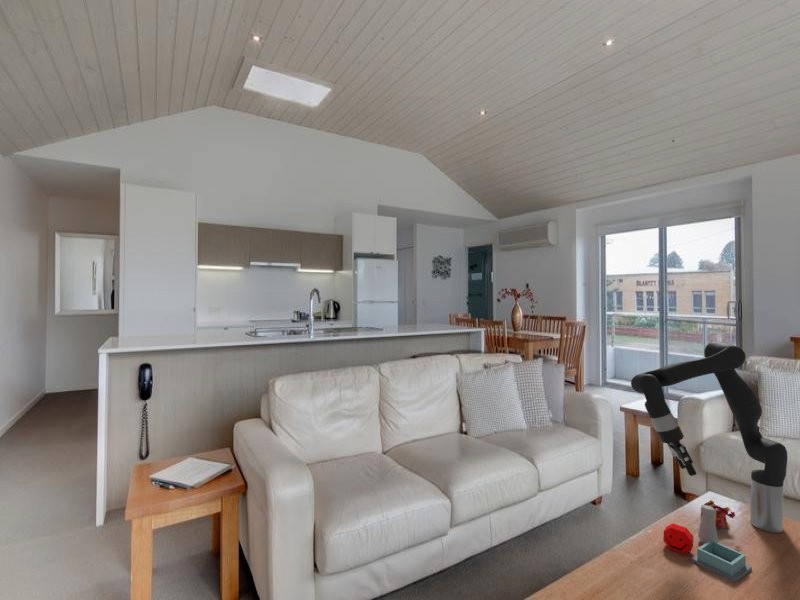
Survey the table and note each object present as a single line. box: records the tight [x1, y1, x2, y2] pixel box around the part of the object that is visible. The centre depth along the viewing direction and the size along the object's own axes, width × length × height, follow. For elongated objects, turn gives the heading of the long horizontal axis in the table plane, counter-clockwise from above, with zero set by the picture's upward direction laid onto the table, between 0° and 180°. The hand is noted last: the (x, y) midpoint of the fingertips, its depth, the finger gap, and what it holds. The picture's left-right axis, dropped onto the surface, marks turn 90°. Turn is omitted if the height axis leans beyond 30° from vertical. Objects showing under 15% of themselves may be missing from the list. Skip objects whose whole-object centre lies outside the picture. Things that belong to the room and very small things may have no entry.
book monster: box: [700, 499, 736, 530], centre depth 156 cm, size 11×9×12 cm
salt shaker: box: [697, 504, 719, 545], centre depth 147 cm, size 6×6×13 cm
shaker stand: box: [691, 540, 753, 583], centre depth 135 cm, size 12×12×4 cm
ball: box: [662, 523, 694, 555], centre depth 144 cm, size 8×8×8 cm
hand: (688, 471), depth 147 cm, fingers open, 8 cm apart
